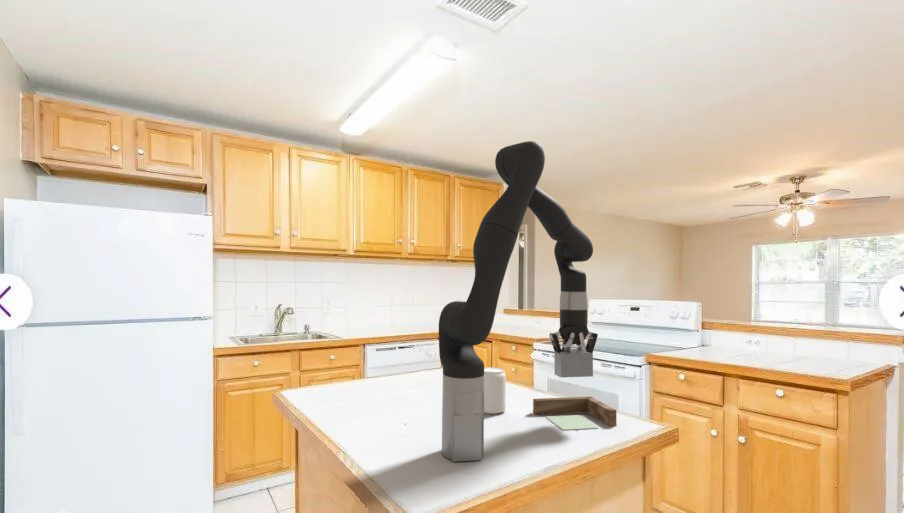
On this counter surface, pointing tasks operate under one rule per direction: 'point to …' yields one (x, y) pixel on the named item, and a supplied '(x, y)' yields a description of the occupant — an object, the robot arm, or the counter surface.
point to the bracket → (574, 363)
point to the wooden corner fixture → (575, 408)
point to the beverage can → (494, 390)
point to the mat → (571, 422)
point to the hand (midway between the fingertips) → (573, 369)
